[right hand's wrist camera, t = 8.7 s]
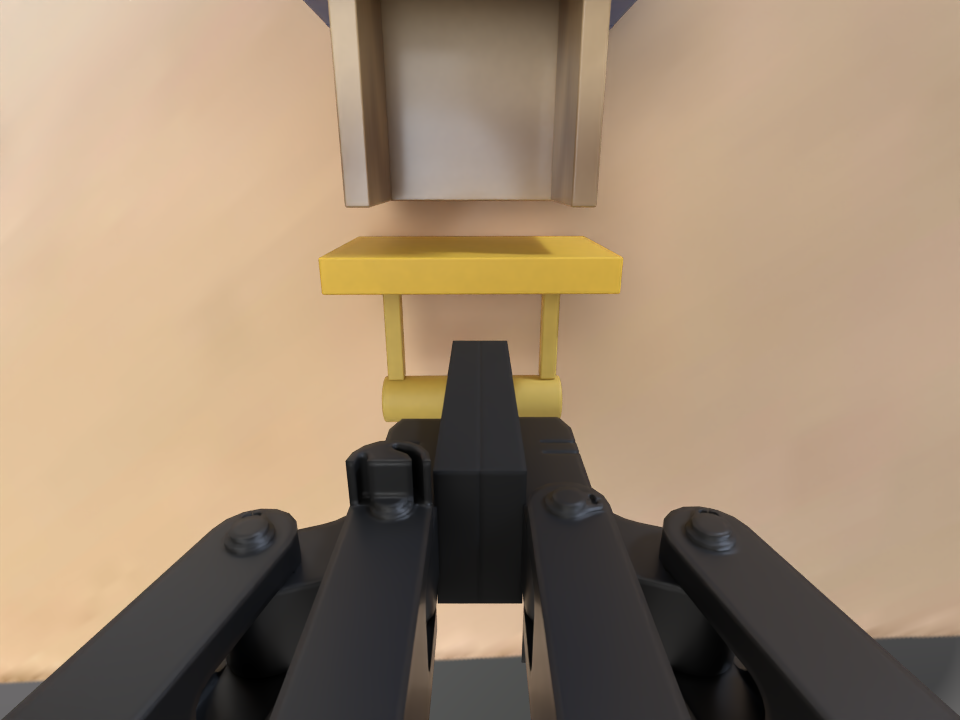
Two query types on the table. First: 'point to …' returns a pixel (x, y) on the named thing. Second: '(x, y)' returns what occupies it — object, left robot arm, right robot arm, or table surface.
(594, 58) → the drawer
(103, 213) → the table surface
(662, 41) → the table surface
